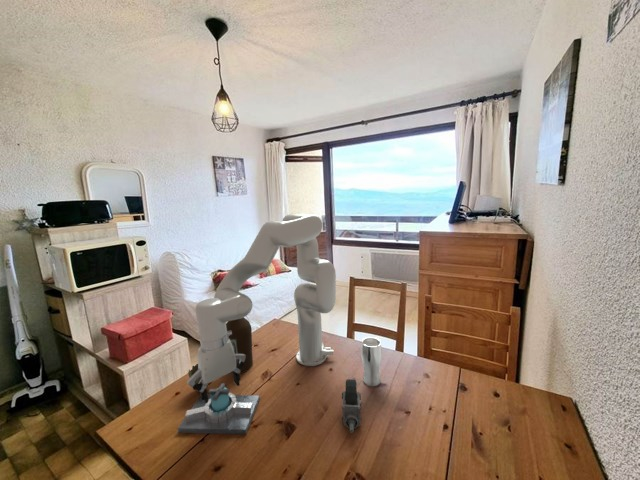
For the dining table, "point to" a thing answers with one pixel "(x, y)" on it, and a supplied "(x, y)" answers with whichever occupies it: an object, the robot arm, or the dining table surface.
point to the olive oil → (241, 340)
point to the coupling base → (224, 426)
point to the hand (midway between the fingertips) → (221, 391)
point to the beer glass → (371, 360)
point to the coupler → (219, 398)
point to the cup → (194, 370)
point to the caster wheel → (351, 406)
